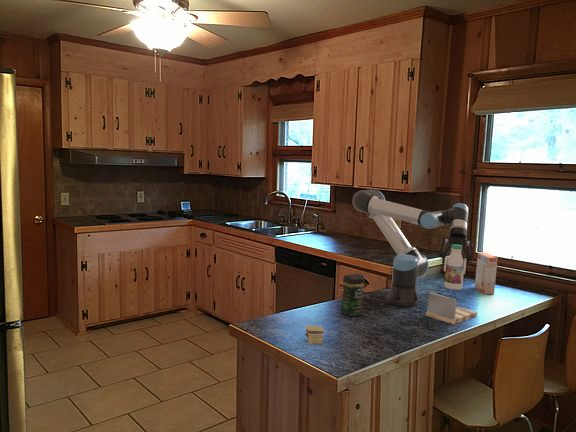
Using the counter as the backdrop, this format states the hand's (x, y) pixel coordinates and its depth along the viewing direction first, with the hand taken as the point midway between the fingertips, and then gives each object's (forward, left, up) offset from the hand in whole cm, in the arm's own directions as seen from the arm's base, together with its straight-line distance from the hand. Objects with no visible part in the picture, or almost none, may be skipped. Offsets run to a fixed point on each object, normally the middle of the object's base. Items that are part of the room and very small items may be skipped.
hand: (454, 270), depth 211 cm
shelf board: (+2, +4, -22) cm, 23 cm away
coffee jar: (-45, +4, -22) cm, 50 cm away
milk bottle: (+1, +3, -9) cm, 9 cm away
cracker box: (+40, +49, -22) cm, 67 cm away
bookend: (-5, -2, -20) cm, 21 cm away
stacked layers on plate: (-66, -30, -23) cm, 76 cm away
